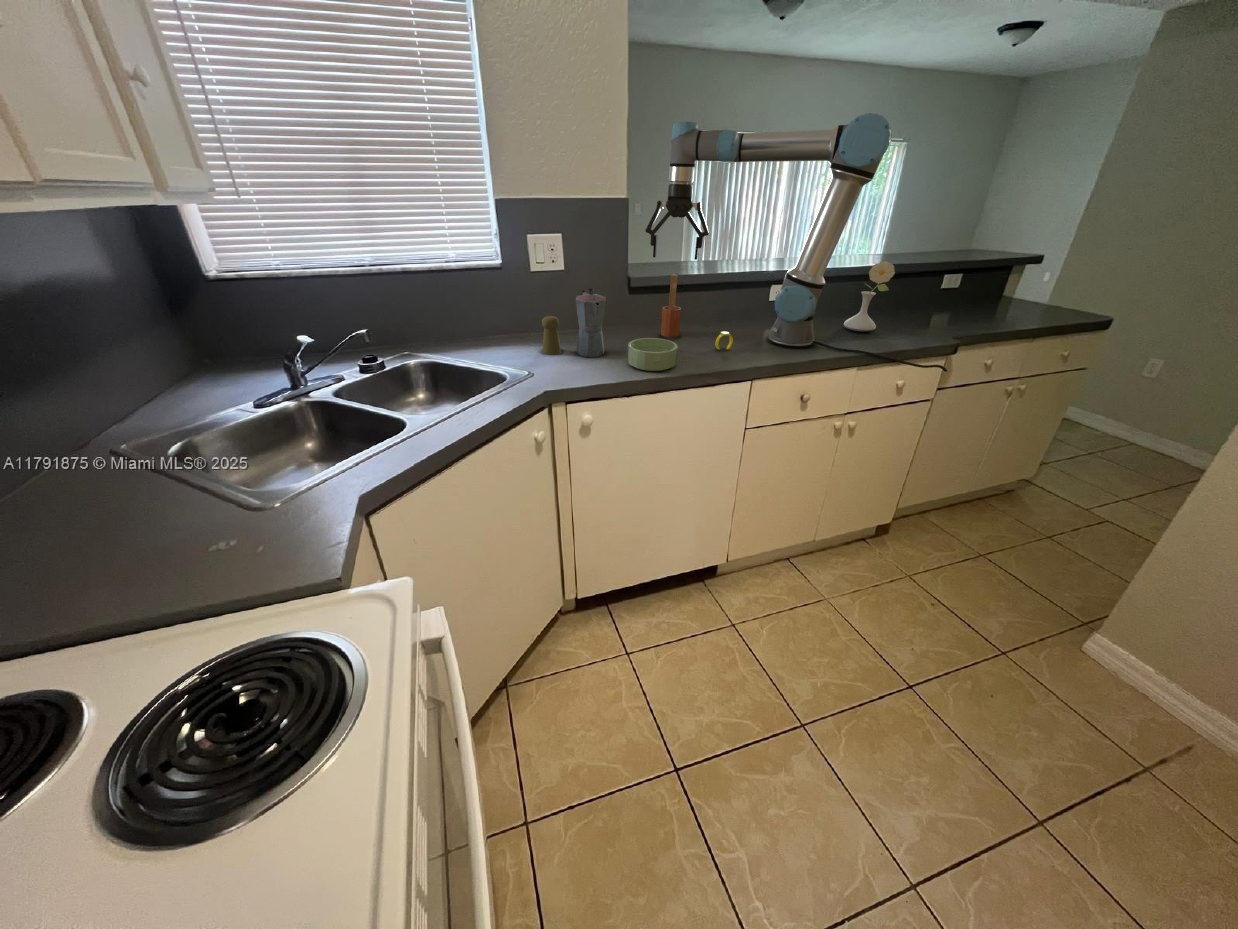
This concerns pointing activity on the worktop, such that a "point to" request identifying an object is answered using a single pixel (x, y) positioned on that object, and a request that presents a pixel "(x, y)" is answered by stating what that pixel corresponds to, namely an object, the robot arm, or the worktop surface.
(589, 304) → the moka pot
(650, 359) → the bowl
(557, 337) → the olive pepper grinder
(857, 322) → the flower in vase
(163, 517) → the worktop surface
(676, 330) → the utensil pot
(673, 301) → the stirring stick
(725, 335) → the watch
